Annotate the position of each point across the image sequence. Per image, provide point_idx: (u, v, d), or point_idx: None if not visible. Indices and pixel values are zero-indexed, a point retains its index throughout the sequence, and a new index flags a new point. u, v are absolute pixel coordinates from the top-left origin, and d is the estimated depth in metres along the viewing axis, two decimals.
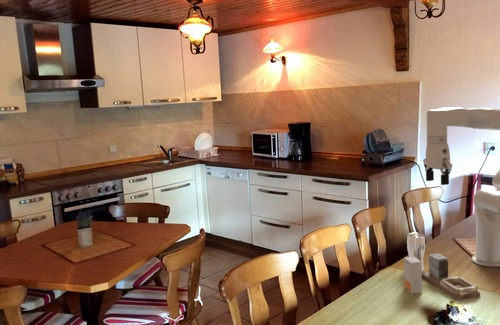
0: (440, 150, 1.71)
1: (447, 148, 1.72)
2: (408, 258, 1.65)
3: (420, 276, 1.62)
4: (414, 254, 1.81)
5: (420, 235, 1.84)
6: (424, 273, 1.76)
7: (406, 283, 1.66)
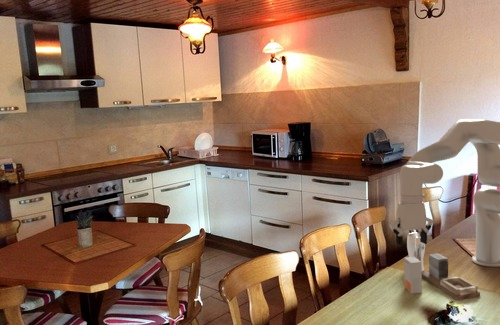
0: (424, 208, 1.60)
1: None
2: (408, 258, 1.65)
3: (420, 276, 1.62)
4: (414, 254, 1.81)
5: None
6: (424, 273, 1.76)
7: (406, 283, 1.66)
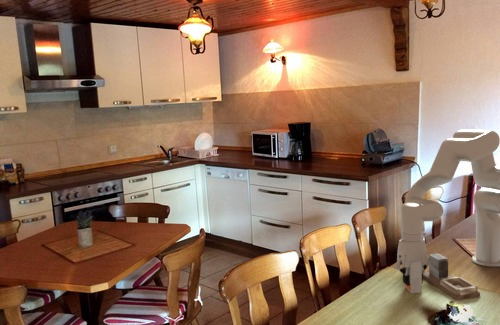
0: (425, 245, 1.62)
1: None
2: None
3: (420, 276, 1.62)
4: None
5: None
6: (424, 273, 1.76)
7: None
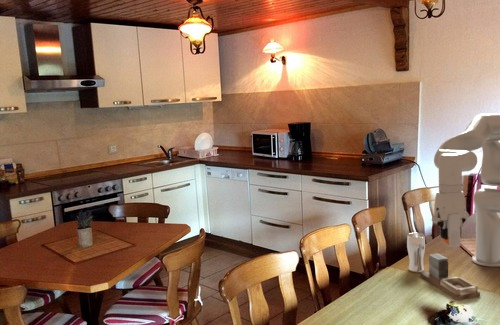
0: None
1: None
2: None
3: (459, 229, 1.56)
4: (414, 254, 1.81)
5: (420, 235, 1.84)
6: (424, 273, 1.76)
7: None
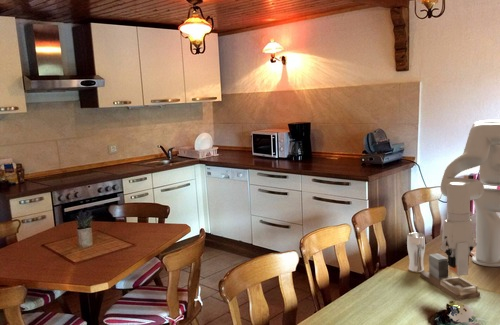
0: None
1: None
2: None
3: (467, 257, 1.56)
4: (414, 254, 1.81)
5: (420, 235, 1.84)
6: (424, 273, 1.76)
7: None
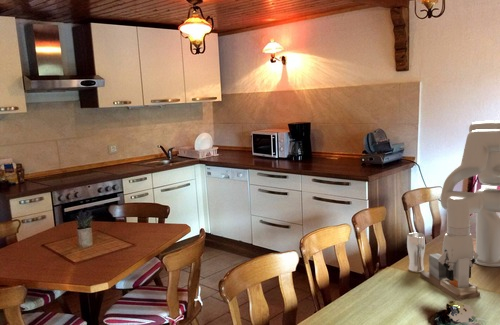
0: None
1: None
2: None
3: (468, 273, 1.58)
4: (414, 254, 1.81)
5: (420, 235, 1.84)
6: (424, 273, 1.76)
7: (451, 281, 1.62)
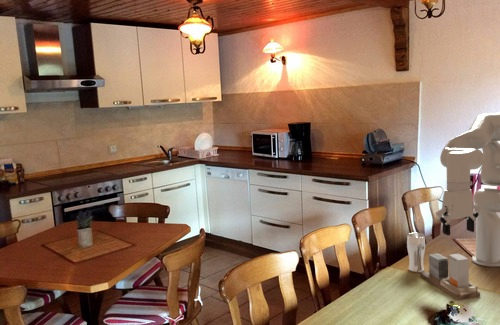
0: None
1: None
2: (454, 255, 1.61)
3: (467, 273, 1.57)
4: (414, 254, 1.81)
5: (420, 235, 1.84)
6: (424, 273, 1.76)
7: (451, 281, 1.62)
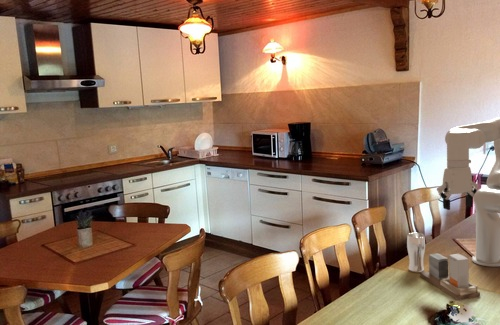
0: (470, 172, 1.67)
1: None
2: (454, 255, 1.61)
3: (467, 273, 1.57)
4: (414, 254, 1.81)
5: (420, 235, 1.84)
6: (424, 273, 1.76)
7: (451, 281, 1.62)
